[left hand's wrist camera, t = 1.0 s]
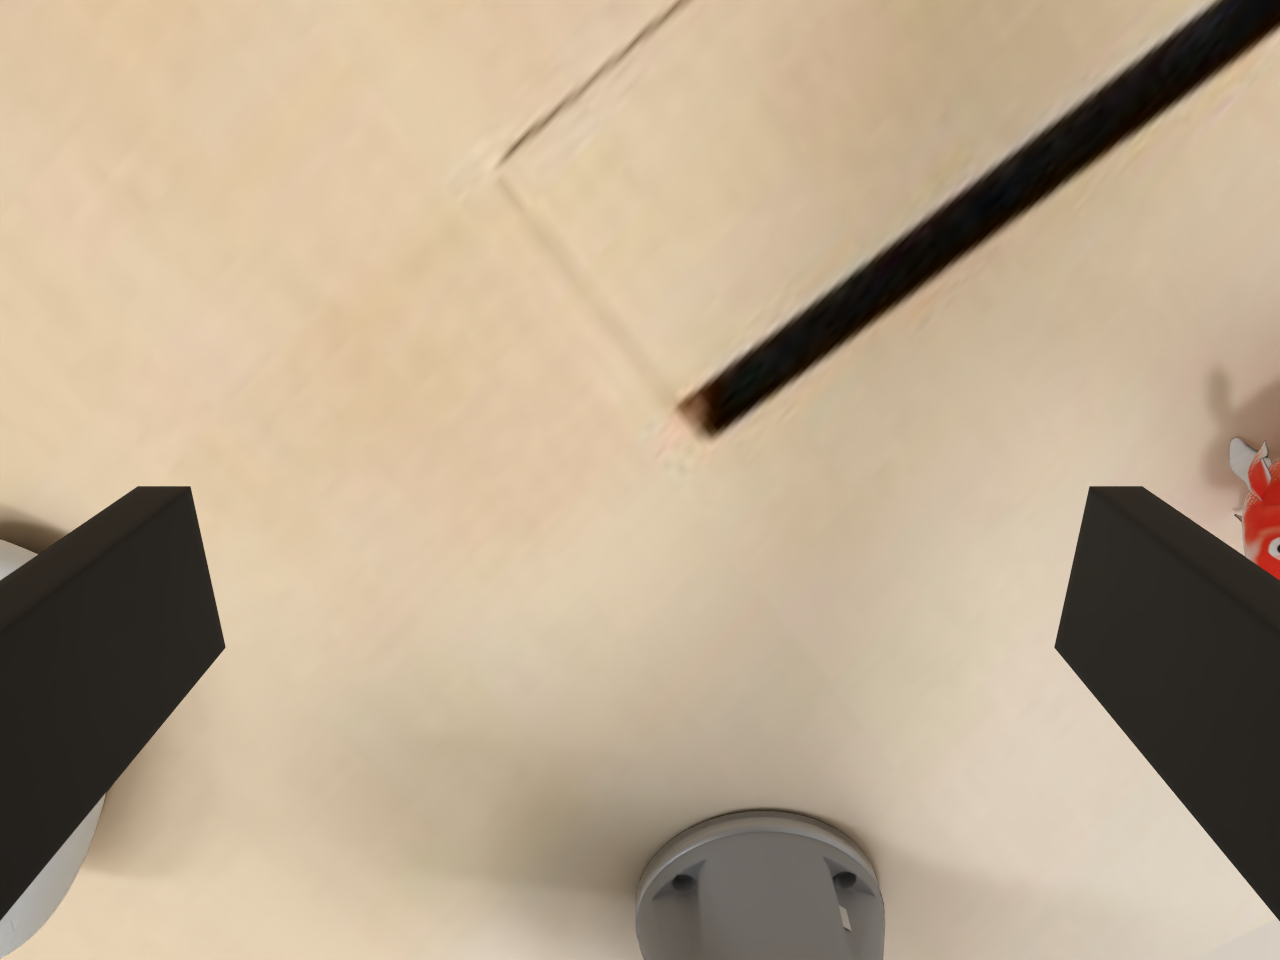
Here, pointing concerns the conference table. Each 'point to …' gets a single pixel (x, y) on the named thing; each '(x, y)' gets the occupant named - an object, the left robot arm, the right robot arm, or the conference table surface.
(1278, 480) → the fish
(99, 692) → the left robot arm
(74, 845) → the projector
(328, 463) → the conference table surface
